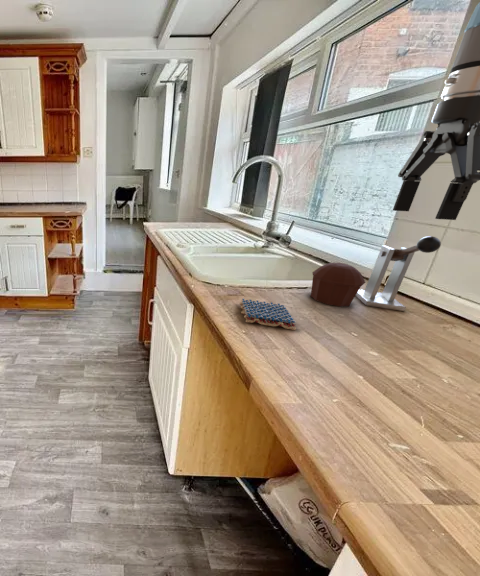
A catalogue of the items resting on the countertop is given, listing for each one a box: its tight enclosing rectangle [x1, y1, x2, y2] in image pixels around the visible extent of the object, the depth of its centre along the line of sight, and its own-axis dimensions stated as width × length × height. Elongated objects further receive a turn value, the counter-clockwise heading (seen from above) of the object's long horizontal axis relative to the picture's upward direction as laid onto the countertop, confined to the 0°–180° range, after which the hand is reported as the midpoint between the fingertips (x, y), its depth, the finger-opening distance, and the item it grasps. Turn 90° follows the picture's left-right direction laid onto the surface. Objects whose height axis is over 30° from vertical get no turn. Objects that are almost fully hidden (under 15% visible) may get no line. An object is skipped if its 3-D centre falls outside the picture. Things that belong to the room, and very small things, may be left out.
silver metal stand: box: [355, 244, 416, 312], centre depth 81 cm, size 10×8×15 cm
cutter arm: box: [390, 235, 442, 262], centre depth 73 cm, size 15×4×4 cm, turn 160°
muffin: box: [310, 262, 367, 308], centre depth 81 cm, size 12×11×10 cm
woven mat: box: [239, 298, 297, 331], centre depth 71 cm, size 10×11×2 cm
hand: (420, 214), depth 64 cm, fingers open, 13 cm apart
